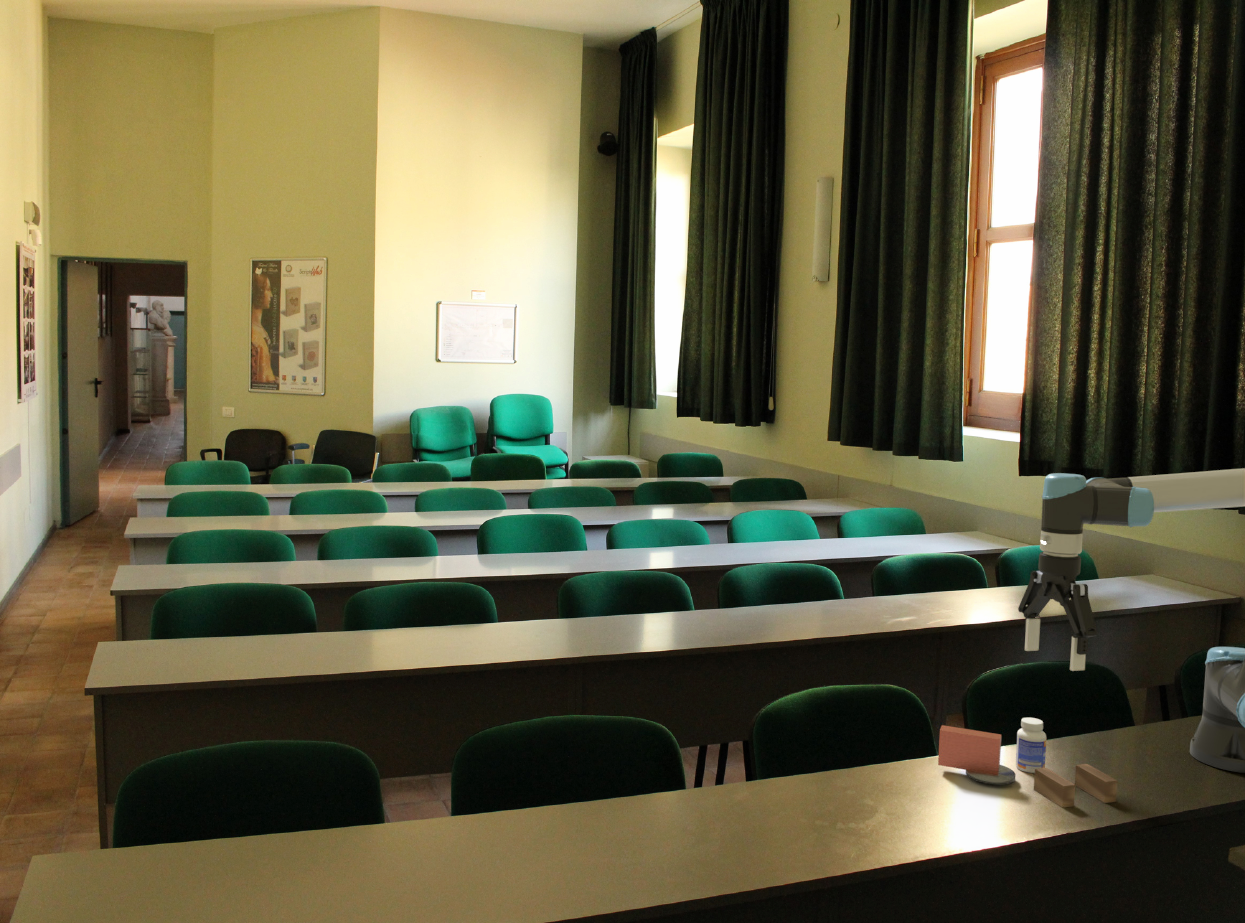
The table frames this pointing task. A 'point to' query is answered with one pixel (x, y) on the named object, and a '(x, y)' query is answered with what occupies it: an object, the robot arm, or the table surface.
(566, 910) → the table surface
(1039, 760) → the pill bottle
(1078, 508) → the robot arm
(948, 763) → the block on round base
